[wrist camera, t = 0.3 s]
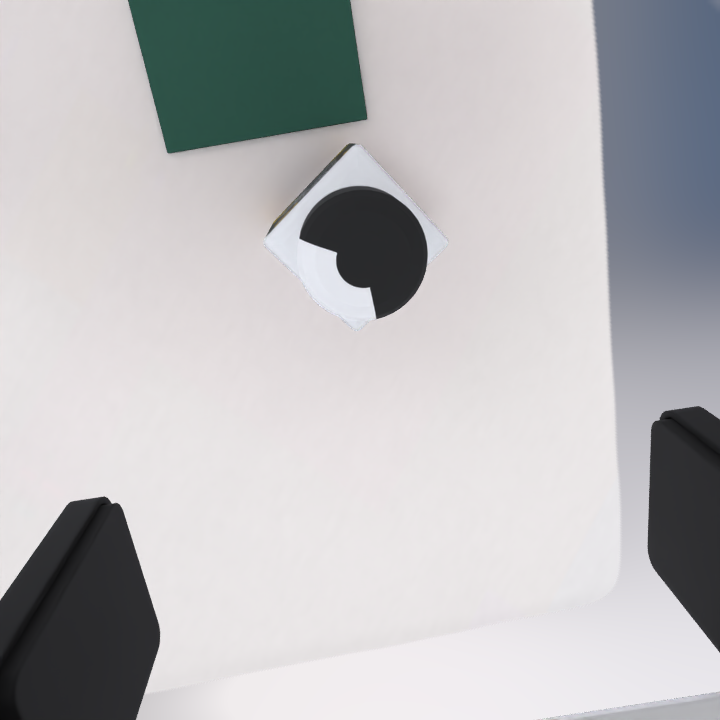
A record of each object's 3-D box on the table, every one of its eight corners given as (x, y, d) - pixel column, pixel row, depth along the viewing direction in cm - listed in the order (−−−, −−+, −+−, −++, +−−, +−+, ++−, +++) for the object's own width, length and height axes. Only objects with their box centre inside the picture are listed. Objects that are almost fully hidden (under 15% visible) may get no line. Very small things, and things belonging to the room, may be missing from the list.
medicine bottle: (350, 140, 37) (365, 140, 25) (429, 225, 39) (475, 260, 28) (270, 225, 38) (250, 261, 27) (350, 302, 40) (362, 366, 29)
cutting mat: (96, -129, 31) (93, -132, 31) (324, -168, 32) (324, -171, 31) (169, 153, 36) (167, 153, 36) (366, 119, 36) (367, 119, 36)
